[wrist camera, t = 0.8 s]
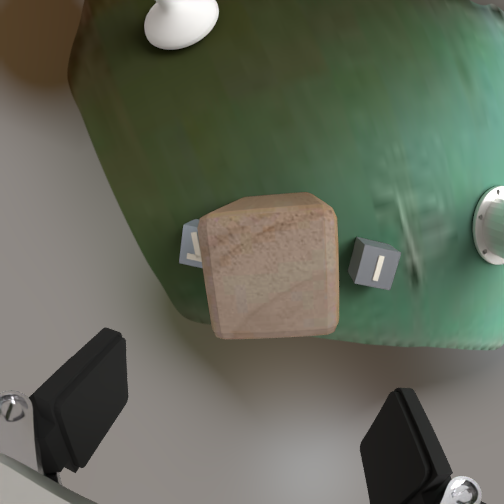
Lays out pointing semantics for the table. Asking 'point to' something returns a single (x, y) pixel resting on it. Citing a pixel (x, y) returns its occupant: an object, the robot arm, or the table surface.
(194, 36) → the flower in vase
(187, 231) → the slate block marked 7
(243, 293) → the wooden block
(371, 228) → the table surface
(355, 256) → the charcoal block marked 1
